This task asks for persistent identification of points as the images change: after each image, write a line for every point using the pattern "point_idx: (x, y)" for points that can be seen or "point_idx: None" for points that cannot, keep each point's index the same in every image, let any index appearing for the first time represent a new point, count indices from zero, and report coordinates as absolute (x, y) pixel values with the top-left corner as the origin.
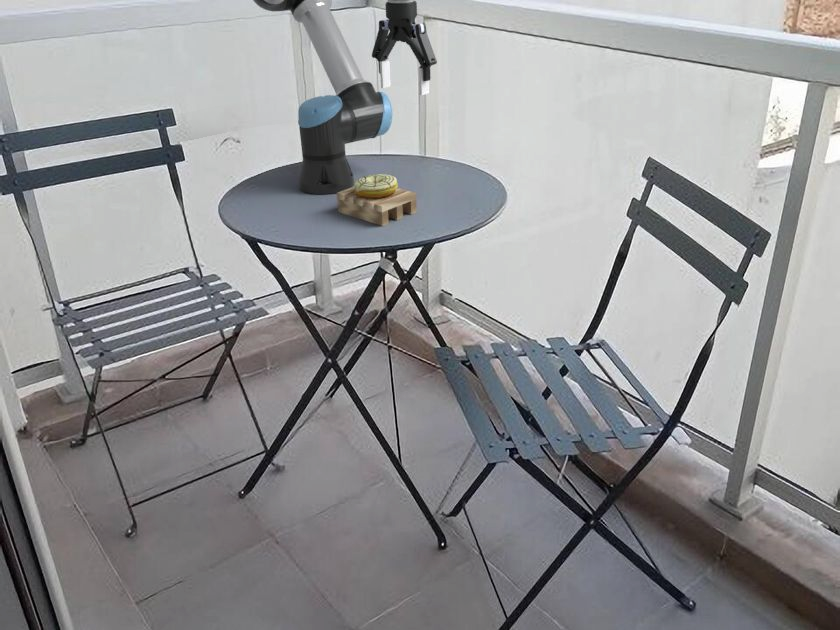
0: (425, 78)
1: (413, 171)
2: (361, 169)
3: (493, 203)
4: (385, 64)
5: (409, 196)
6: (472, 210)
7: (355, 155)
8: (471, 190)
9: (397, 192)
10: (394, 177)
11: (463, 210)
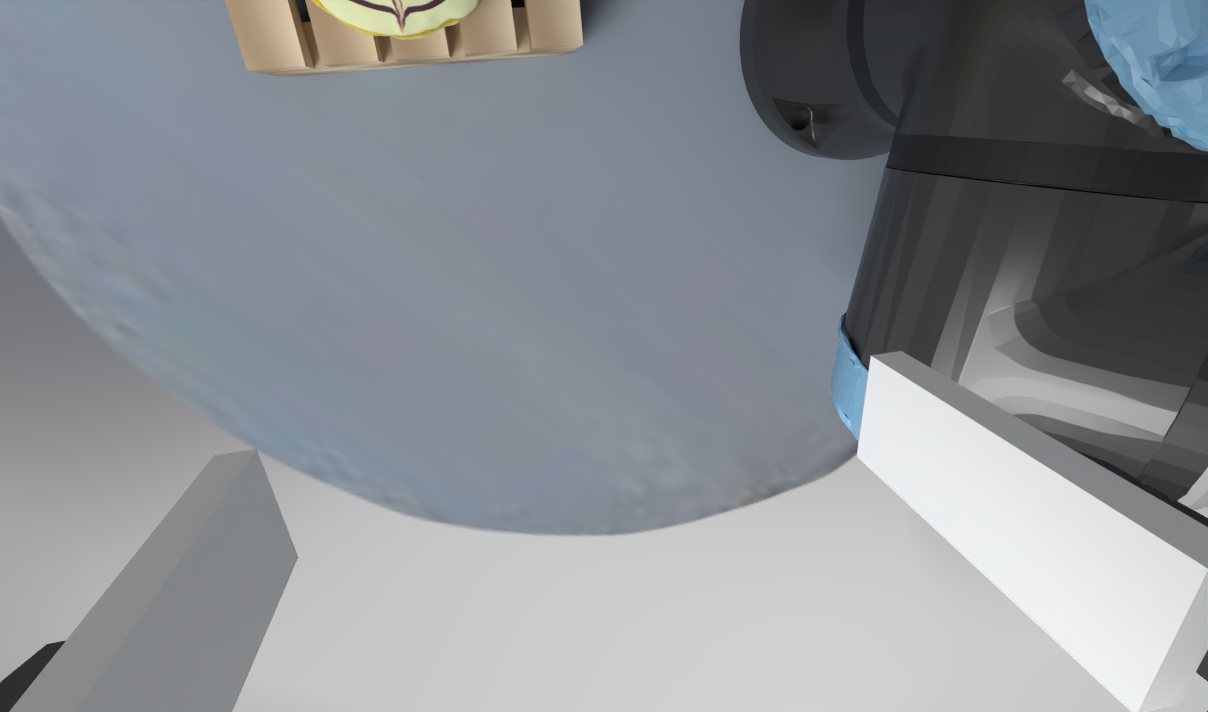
0: (20, 683)
1: (698, 389)
2: None
3: (184, 378)
4: (1112, 596)
5: (231, 12)
6: (154, 269)
7: None
8: (375, 409)
9: None
10: (356, 16)
11: (177, 242)
